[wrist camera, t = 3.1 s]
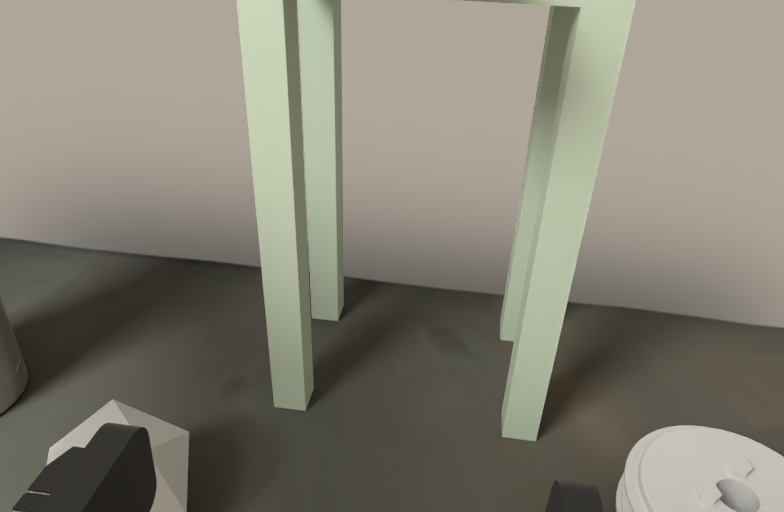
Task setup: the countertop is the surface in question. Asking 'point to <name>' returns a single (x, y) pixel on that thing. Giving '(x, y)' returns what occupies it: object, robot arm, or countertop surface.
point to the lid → (701, 473)
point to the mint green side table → (324, 184)
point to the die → (165, 447)
